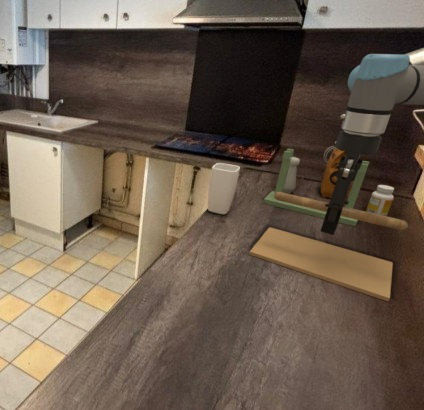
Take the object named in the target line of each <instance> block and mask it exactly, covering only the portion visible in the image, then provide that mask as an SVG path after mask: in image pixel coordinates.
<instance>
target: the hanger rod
mask: <svg viewBox="0 0 424 410" xmlns="http://www.w3.org/2000/svg"><path fill="white" fill-rule="evenodd" d="M274 198H275V199H276V200H279V201H283V202H287V203H291V204H295V205H299V206H303V207H307V208H311V209H315V210H320V211H324V212H327V209H328V207H326V206H325V204H326V203H327V204H329V203H330V202H325V201H323V200H322V201H321V200H317V199H313V198H310V197H309V198H308V197H304V196H300V195H297V194H291V193H290V194H287V193H283V192H276V193H275V194H274ZM340 216H344V217H348V218H352V219H356V220H358V221H361V222H365V223H369V224H372V225H377V226H381V227H384V228H389V229H394V230H397V231H404V230H406V229H407V228H408V227H409V224H408V222H407V221H406V220H403V219H400V218H396V217H391V216H388V215H387V216H383V215H378V214H374V213H370V212H366V210H365V211H364V210H361V209H357V208H353V209H352V208H348V207H345V205H344V206H343V209H342V212H341V215H340Z"/></svg>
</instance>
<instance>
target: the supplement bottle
mask: <svg viewBox="0 0 424 410" xmlns="http://www.w3.org/2000/svg"><path fill="white" fill-rule="evenodd" d="M394 190H395V187H393V186H390V185H385V184H378V185H377V186H376V190H375V191H373V192H372V193H371V195H370V199H369V201H368V204H367V206H366V208H365V209H366V210H365V212H370V213H374V214H378V215H383V216H387V217H388V214H389V212H390V209H391V206H392V204H393V201H394V198H395V197H394V195H393V193H394V192H395V191H394Z"/></svg>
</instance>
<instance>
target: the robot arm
mask: <svg viewBox="0 0 424 410" xmlns="http://www.w3.org/2000/svg"><path fill="white" fill-rule="evenodd" d="M347 87H348V90H349V91H350V95H349V99H348V102H347V106H346V110H345V113H343V114H340V119H342V122H341V126H340V129H341V130H340V131H339V132H338V135H337V138H336V141H335V142H336V144H335V143H334V147H336V148H337V149H338V150H341V151H345V152H347V154H346V157H345V156H342V158H341V159H340V161H339V165H338V166H339V169H338V172H337V175H336V178H337V181H336V184H335V187H334V191H333V194H332V197H331V199H329V202H326V204H325V206H326V207H328V209H327V212H326V215H325V218H323V221H322V225H321V229H320V231H319V232H321V233H324V234H328V235H331V236H334V235H335V232H336V230H337V227H338V224H339V219H340V215H341V212H342V209H343V206H344V207H345V206H346V205H348V203H349V201H347V200H345V199H346V198H347V194H348V191H349V188H350V185H351V182H352V181H354V180H355V177H356V175H357V172H358V170H359V169H360V167H361V165H362V162H363V161H364V159H363V158H360V157H361V155H365V156H367V155H375V154H376V153H377V152H378V150H379V147H380V145H381V142H382V139H383V138H382V134H384V133H385V131H386V130H387V126H388V123H389V121H390V117H391V115H392V111H393V108H394V107H395V105H410V106H411V105H413V106H416V105H417V106H424V47H421V48H418V49H416V50H413V51H411V52H408V53H405V54H398V53H397V54H394V53H393V54H391V53H370V54H367V55H365V56H364V57H363V58H362V60H361V62H360V64H359V65H357V66H356V67H354V69H352V71H351V72H350V74H349V75H348V78H347ZM347 199H348V198H347ZM327 203H329V204H327Z"/></svg>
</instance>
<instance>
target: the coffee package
mask: <svg viewBox="0 0 424 410" xmlns="http://www.w3.org/2000/svg"><path fill="white" fill-rule="evenodd" d="M346 154H347V152H345V151H341V150H338V149H337V148H336V149H335V148H334V150H333V151H332V152H331V155H330V156H329V158H328V159H327V162H328V163H327V162H326V165H325V166H324V169H323V172H322V177H321V182H320V195H321V197H323V198H328V199H329V200H331V197H332V194H333V191H334V187H335V184H336V181H337V178H336V175H337V172H338V169H339V166H338V165H339V161H340V159H341V158H342V156H345V157H346ZM353 182H354V181H352V182H351V185H350V188H349V191H348V194H347V198H346V199H345V200H346V201H347V200H348V197H349V194H350V191H351V188H352V185H353Z"/></svg>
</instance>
